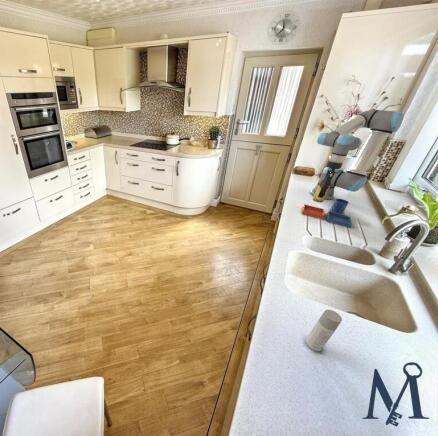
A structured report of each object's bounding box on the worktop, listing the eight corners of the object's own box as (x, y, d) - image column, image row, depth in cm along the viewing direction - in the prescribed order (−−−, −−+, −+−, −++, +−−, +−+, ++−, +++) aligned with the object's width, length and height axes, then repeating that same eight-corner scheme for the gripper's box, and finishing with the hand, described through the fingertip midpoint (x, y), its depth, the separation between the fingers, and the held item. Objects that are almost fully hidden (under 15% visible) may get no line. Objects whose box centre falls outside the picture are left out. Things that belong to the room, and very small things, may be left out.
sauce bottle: (321, 204, 153) (334, 175, 142) (310, 200, 157) (323, 172, 146) (324, 201, 157) (337, 173, 146) (314, 197, 161) (326, 170, 150)
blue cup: (329, 208, 168) (335, 197, 163) (342, 211, 164) (348, 200, 160) (329, 212, 162) (335, 201, 158) (343, 216, 159) (349, 204, 154)
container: (304, 336, 80) (322, 307, 73) (319, 341, 79) (340, 312, 71) (306, 348, 77) (326, 319, 69) (322, 354, 75) (344, 324, 68)
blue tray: (326, 214, 160) (328, 211, 159) (348, 219, 155) (350, 216, 153) (326, 221, 151) (328, 218, 150) (349, 227, 146) (351, 224, 144)
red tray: (302, 207, 168) (304, 204, 167) (322, 212, 163) (324, 209, 161) (301, 213, 160) (303, 210, 158) (322, 219, 154) (324, 216, 153)
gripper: (328, 157, 152) (314, 189, 163) (328, 163, 138) (313, 198, 149) (342, 159, 148) (326, 192, 160) (344, 166, 134) (326, 202, 146)
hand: (320, 195), depth 154 cm, fingers closed on sauce bottle, 6 cm apart
